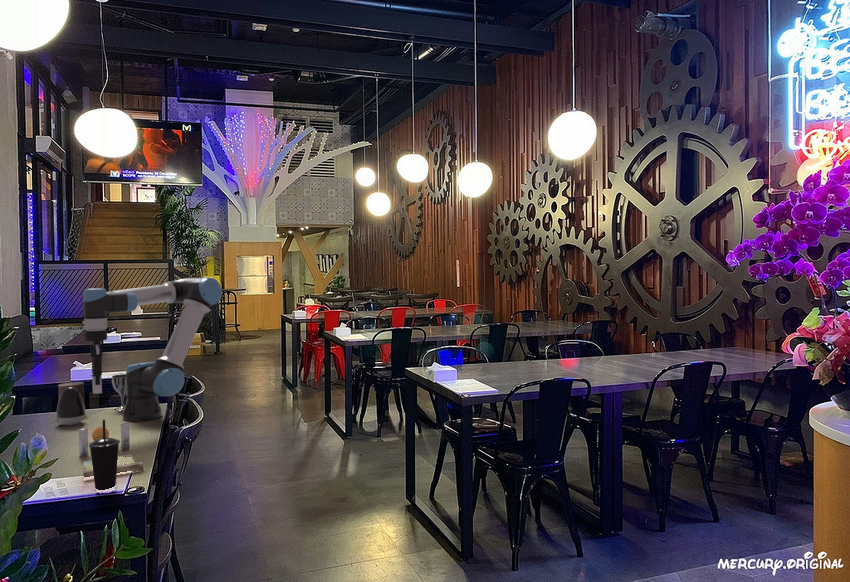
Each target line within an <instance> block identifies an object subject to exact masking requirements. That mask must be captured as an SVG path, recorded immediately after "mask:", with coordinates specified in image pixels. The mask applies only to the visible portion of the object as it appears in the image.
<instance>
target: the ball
mask: <svg viewBox="0 0 850 582" xmlns="http://www.w3.org/2000/svg"><path fill="white" fill-rule="evenodd" d="M105 431H106V438H110V437H109V436H110V431H109V429H108V428H107V427H105ZM91 437H92V439H93V442H94V441H95V440H98V439H101V438H103V426H98V427H96V428H95V429H94V430H93V431H92V433H91Z"/></svg>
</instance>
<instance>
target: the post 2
mask: <svg viewBox="0 0 850 582" xmlns="http://www.w3.org/2000/svg"><path fill="white" fill-rule="evenodd" d="M130 439H131V438H130V423H129V422H128V423H127V422H123V423H121V424H120V445H121V449H120V451H121V450H122V452H126V451H125V450H128V451H130V450H131V444H130V442H131V441H130ZM129 449H130V450H129Z"/></svg>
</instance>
